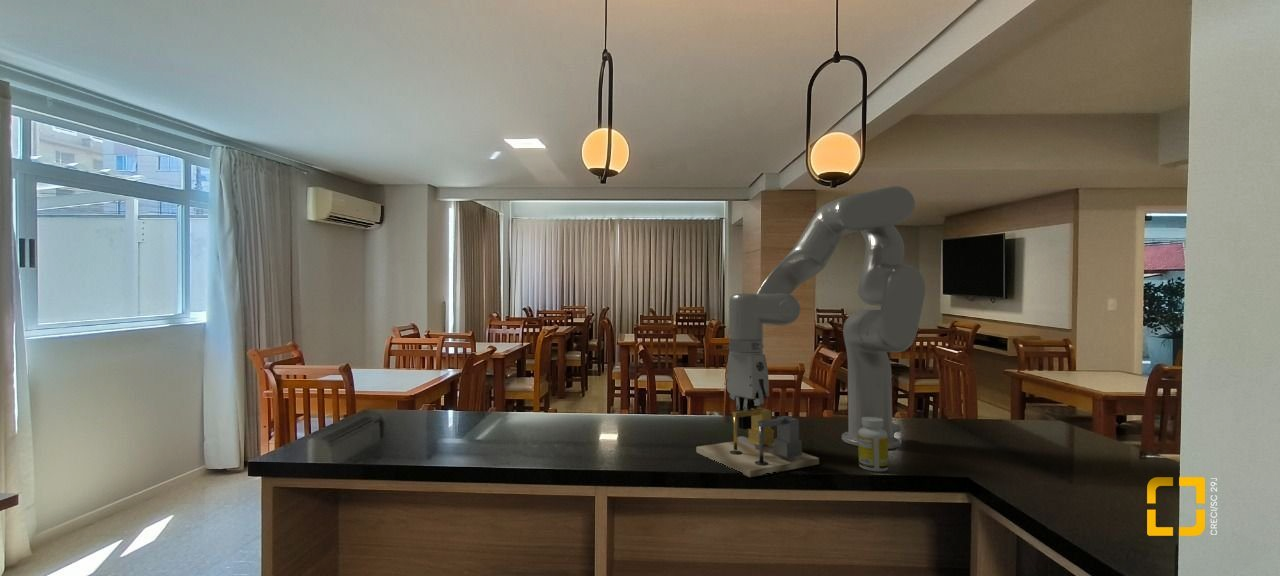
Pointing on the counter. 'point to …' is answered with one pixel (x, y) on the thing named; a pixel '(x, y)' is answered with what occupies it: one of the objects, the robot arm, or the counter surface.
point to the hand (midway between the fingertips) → (746, 427)
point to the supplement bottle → (873, 445)
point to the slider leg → (755, 425)
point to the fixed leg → (782, 437)
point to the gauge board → (754, 457)
